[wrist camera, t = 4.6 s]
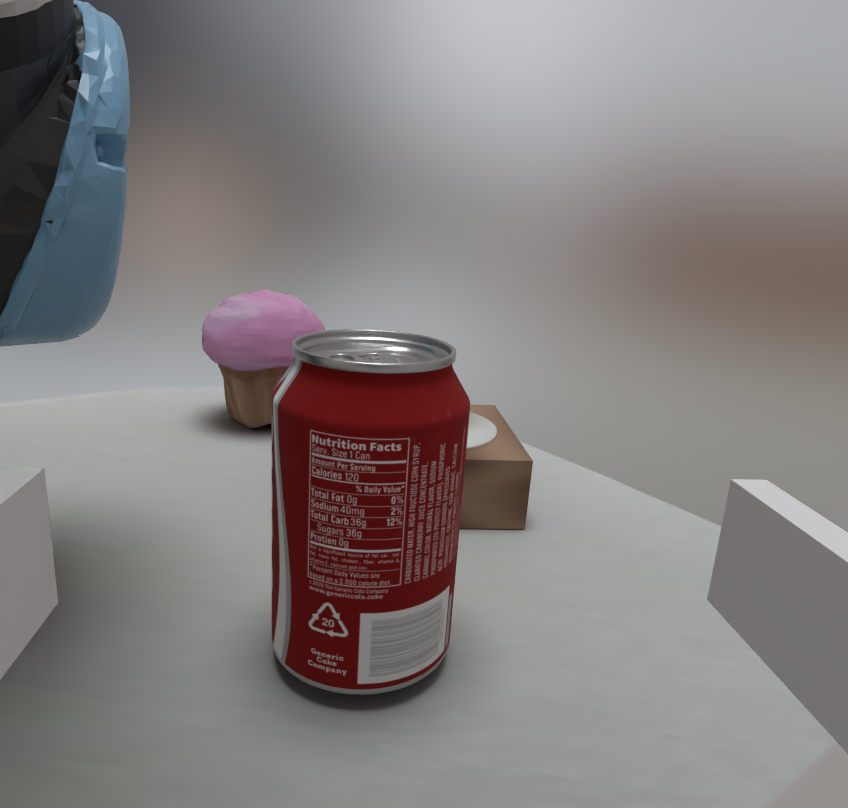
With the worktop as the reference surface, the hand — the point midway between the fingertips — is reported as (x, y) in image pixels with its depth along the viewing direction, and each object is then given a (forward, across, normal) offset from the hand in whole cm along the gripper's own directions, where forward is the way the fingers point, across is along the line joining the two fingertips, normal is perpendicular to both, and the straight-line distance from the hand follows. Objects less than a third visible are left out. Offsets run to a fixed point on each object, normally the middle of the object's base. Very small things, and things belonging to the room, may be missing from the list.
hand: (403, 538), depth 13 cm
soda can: (+11, 0, -10) cm, 15 cm away
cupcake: (+38, -7, -10) cm, 40 cm away
